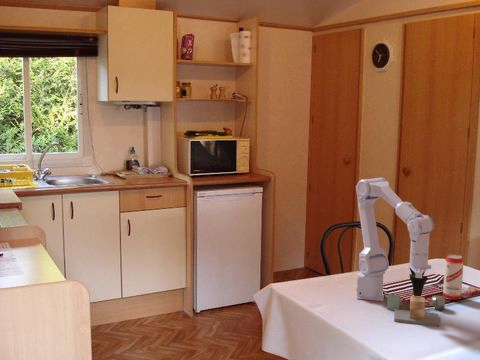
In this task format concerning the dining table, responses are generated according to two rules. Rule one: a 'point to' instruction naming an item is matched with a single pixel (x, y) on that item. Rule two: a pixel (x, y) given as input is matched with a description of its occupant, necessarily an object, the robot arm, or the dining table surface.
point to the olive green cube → (393, 302)
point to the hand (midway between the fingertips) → (417, 291)
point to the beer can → (453, 277)
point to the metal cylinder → (438, 303)
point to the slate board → (405, 317)
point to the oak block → (417, 307)
